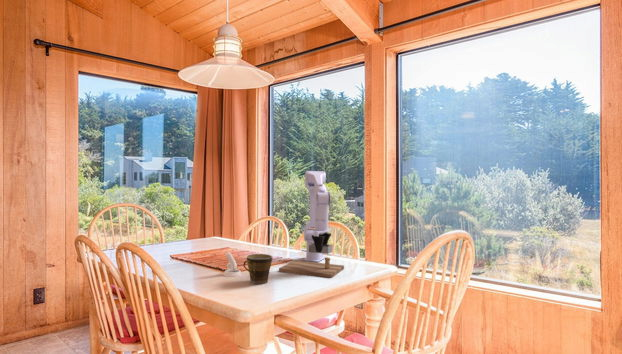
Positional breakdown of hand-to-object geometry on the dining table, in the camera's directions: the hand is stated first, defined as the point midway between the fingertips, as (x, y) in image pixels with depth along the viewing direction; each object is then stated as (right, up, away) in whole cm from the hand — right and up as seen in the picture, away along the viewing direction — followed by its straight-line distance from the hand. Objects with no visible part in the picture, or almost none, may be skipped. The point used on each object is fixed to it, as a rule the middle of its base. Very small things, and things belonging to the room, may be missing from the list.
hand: (321, 250), depth 176 cm
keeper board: (-4, -9, +2) cm, 10 cm away
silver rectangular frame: (0, -1, 0) cm, 1 cm away
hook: (-37, -9, -9) cm, 39 cm away
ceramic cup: (-26, -9, -21) cm, 34 cm away
